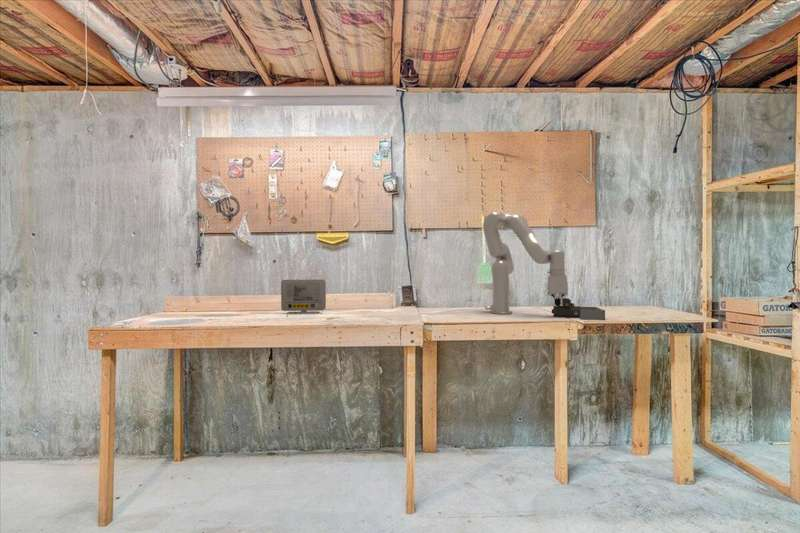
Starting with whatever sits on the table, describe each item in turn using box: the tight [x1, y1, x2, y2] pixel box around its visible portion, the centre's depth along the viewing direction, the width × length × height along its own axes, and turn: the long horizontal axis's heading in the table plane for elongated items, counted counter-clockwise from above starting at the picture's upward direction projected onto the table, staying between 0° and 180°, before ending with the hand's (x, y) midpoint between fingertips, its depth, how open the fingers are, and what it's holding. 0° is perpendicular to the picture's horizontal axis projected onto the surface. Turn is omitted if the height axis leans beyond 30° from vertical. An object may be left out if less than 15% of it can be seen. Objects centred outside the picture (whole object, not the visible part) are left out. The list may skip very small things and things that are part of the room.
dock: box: [579, 306, 606, 321], centre depth 226 cm, size 12×17×5 cm
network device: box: [280, 279, 327, 315], centre depth 246 cm, size 26×9×20 cm, turn 94°
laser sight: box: [551, 297, 597, 319], centre depth 227 cm, size 10×22×10 cm, turn 72°
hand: (557, 305), depth 229 cm, fingers closed
